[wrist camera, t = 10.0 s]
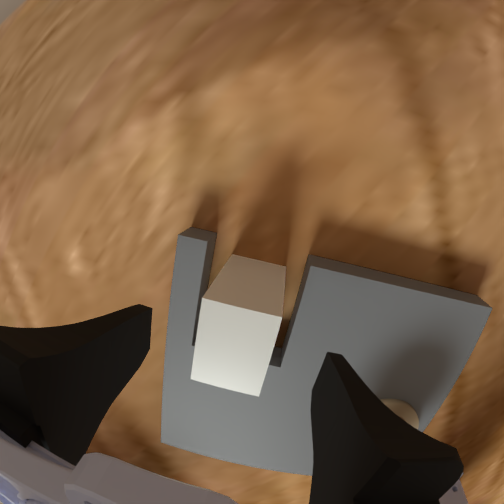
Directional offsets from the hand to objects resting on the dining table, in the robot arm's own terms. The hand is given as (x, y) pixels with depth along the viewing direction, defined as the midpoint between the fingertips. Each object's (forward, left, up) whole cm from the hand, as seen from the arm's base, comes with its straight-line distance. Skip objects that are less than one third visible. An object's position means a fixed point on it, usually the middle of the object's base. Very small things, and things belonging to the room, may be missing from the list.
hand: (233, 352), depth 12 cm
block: (0, 0, -6) cm, 6 cm away
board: (-5, +5, -6) cm, 9 cm away
